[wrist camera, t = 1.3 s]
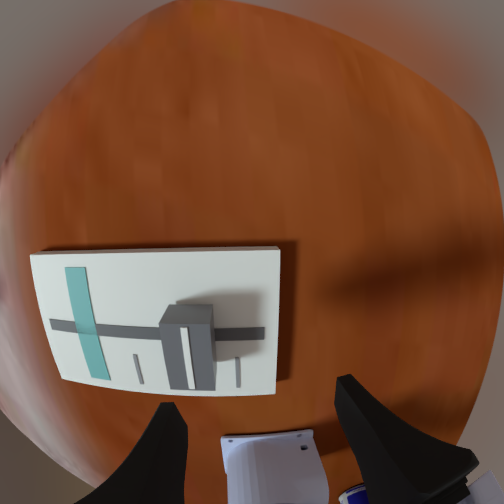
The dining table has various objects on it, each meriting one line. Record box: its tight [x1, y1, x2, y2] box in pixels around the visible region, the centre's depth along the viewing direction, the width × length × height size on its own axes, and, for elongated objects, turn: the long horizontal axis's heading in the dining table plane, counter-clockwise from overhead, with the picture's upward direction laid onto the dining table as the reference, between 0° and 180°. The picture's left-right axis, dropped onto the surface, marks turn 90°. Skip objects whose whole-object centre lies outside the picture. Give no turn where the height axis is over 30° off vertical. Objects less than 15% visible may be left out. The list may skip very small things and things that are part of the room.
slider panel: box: [30, 246, 280, 396], centre depth 19 cm, size 20×12×2 cm, turn 90°
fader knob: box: [158, 304, 217, 391], centre depth 17 cm, size 3×5×3 cm, turn 0°
